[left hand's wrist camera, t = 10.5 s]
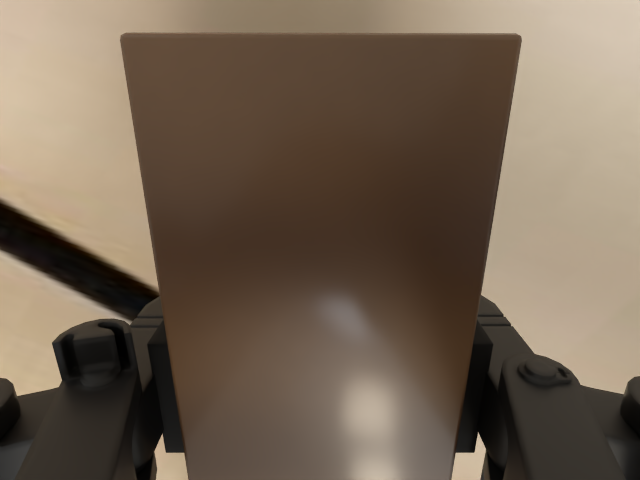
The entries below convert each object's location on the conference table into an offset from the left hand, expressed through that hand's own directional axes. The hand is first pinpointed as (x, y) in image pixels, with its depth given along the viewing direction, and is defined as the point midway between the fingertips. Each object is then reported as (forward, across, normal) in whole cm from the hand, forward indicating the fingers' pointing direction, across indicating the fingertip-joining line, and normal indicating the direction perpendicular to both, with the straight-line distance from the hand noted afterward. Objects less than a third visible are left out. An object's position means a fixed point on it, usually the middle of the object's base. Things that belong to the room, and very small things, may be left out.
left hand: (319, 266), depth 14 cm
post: (+1, 0, -33) cm, 33 cm away
